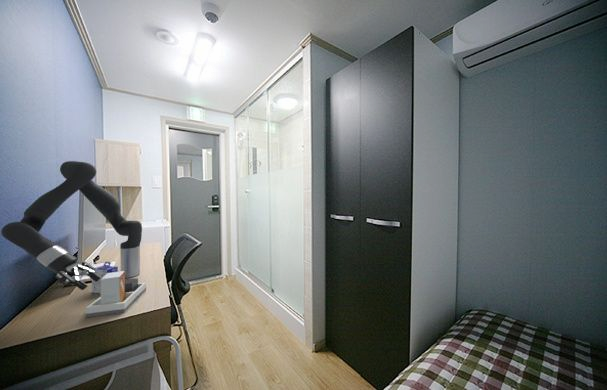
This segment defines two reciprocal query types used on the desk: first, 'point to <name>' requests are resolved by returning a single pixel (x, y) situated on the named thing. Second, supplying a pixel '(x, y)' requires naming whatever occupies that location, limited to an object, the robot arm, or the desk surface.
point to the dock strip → (131, 295)
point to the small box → (113, 288)
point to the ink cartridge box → (102, 275)
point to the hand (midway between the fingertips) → (92, 283)
